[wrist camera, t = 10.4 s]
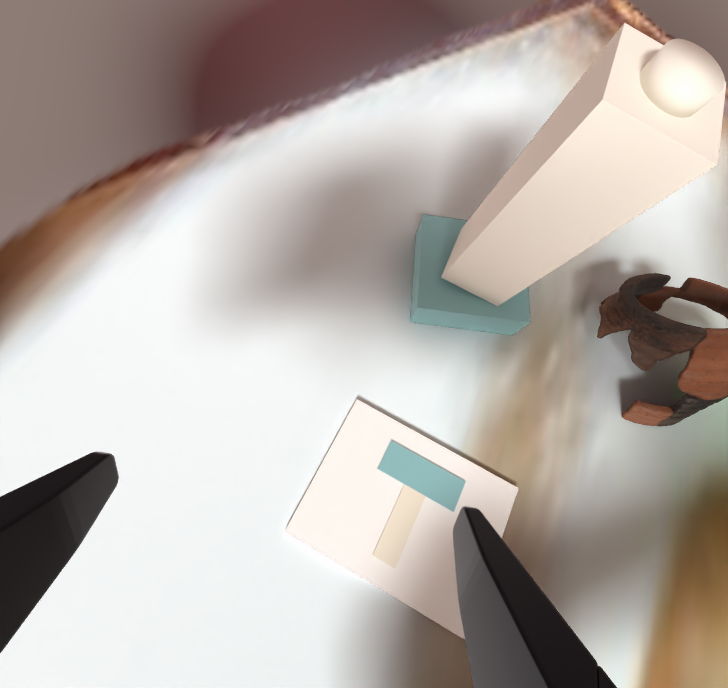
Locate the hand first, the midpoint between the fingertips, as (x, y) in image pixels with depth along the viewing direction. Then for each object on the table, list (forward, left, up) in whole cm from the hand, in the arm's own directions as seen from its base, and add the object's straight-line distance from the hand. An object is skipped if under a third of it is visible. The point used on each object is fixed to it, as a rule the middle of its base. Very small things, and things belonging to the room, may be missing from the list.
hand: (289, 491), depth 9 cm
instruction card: (-6, -2, -14) cm, 15 cm away
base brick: (0, -18, -14) cm, 23 cm away
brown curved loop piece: (-15, -21, -14) cm, 30 cm away
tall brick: (0, -18, -11) cm, 21 cm away
